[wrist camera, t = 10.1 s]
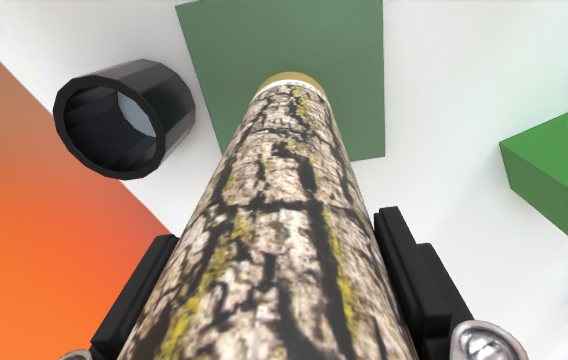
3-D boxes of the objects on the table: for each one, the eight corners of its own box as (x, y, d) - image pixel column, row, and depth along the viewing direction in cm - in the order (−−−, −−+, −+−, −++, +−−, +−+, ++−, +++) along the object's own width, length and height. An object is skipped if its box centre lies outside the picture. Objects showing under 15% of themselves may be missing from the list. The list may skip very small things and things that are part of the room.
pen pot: (93, 69, 33) (29, 87, 25) (177, 51, 31) (137, 65, 24) (132, 149, 37) (89, 186, 30) (206, 137, 36) (181, 172, 28)
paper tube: (268, 56, 24) (10, 442, 2) (341, 88, 25) (615, 556, 4) (243, 128, 27) (38, 569, 6) (309, 154, 28) (348, 609, 7)
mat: (176, 6, 29) (174, 6, 29) (380, -41, 27) (381, -42, 26) (230, 177, 39) (230, 179, 38) (384, 154, 36) (385, 156, 36)
